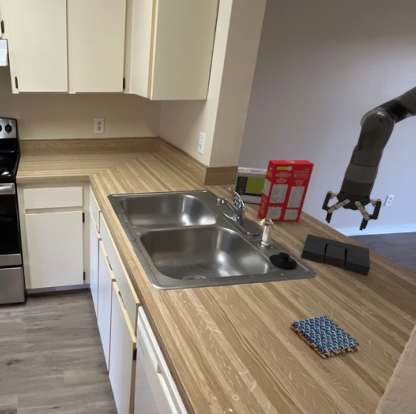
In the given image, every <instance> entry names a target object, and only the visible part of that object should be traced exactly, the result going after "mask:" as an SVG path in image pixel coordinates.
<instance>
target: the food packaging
mask: <svg viewBox="0 0 416 414" xmlns="http://www.w3.org/2000/svg"><path fill="white" fill-rule="evenodd" d="M314 166H315V163H314V162H311V161H310V160H307V159H269V161H268V165H267V168H266V169H267V173H266V178H265V183H264V188H263V193H262V197H261V202H260V204H259V206H258V207H259V208H258V212H257V217H258V218H259V219H260V220H261V219H264V218H270V219H271V220H272V221H273V223H274V222H275V223H277V222H278V223H279V222H281V223H292V222H293V223H299V222H300V219H301V216H302V210H303V207H304V204H305V199H306V196H307V192H308V188H309V185H310V181H311V177H312V173H313V170H314Z"/></svg>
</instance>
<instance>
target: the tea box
mask: <svg viewBox="0 0 416 414" xmlns="http://www.w3.org/2000/svg"><path fill="white" fill-rule="evenodd" d="M267 169H268V168H258V167H257V168H256V167H242V166H238V167H237V170H236V177H235V182H234V183H235V185H234V191H235V192H237V193H238V194H239V195H240V197H241V198H242V200H243V201H244V202H243V203H250V204H259V205H260V202H261V197H262V193H263V188H264V183H265V178H266V173H267ZM234 191H233V192H234ZM234 199H235V197H234V196H233V200H234Z"/></svg>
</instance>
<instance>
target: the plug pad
mask: <svg viewBox="0 0 416 414" xmlns="http://www.w3.org/2000/svg"><path fill="white" fill-rule="evenodd" d="M344 263H345V248H341V247H337V246H333V245H329V244H328V245H327V248H326V251H324V256H323V261H322V264H325V265H329V266H333V267H337V268H340V269H342V268H343V266H344Z"/></svg>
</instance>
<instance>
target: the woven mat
mask: <svg viewBox="0 0 416 414" xmlns="http://www.w3.org/2000/svg"><path fill="white" fill-rule="evenodd" d="M289 327H290V328H291V329H292V330H294V331H295V332H296V333H297V334H298V335H299V337H300V338H301V339H303V340H304V341H305V342H306V343H307V344H308V345H309V346H311V347H312V348H313V349H314V350H315V352H317V354H319V355H320V356H321V357H322V358H323V359H326V358H327V356H331V357H335V354H336V355H338V354H341V353H342V354H344V353H346V351H347V352H351V353H354V352H355V350H359V348H360V347H359V346H360V343H359V342H357V339H356V338H353V337H352V336H351V334H350V333H347V332H344V331H345V329H344V328H341V327H339V324H336V323H335V322H334V320H333V319H330V318H328V316H327V315H324V316H323V315H318V316H316V317H315V316H313V317H308V318H303V319H298V320H294V321H293V322H292V324H291V323H290V326H289ZM350 336H351V337H350Z"/></svg>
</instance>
